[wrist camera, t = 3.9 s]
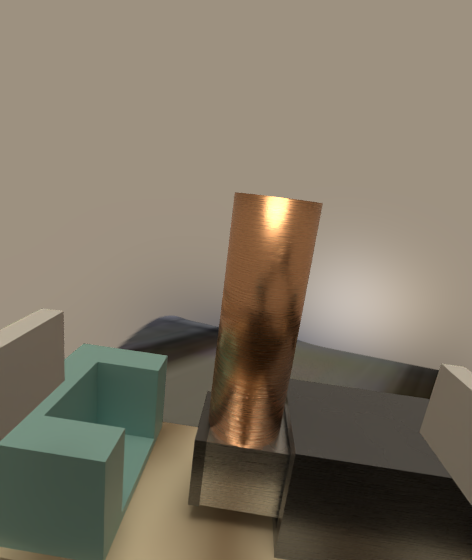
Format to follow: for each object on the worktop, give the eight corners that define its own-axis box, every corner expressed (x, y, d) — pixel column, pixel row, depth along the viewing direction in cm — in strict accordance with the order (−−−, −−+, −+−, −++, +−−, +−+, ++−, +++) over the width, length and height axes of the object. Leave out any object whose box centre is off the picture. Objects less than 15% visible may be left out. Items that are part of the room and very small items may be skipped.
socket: (162, 425, 23) (167, 355, 22) (103, 564, 14) (105, 462, 13) (83, 413, 24) (83, 343, 22) (-22, 542, 15) (-34, 439, 13)
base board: (413, 474, 23) (417, 461, 23) (522, 667, 14) (532, 649, 13) (86, 423, 24) (86, 410, 24) (-28, 571, 15) (-30, 552, 14)
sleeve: (431, 483, 21) (459, 403, 20) (499, 595, 15) (547, 492, 14) (269, 458, 22) (284, 378, 20) (274, 557, 16) (295, 453, 14)
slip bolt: (429, 481, 20) (516, 228, 16) (471, 551, 16) (602, 238, 12) (201, 445, 20) (230, 192, 16) (187, 504, 17) (221, 189, 12)
